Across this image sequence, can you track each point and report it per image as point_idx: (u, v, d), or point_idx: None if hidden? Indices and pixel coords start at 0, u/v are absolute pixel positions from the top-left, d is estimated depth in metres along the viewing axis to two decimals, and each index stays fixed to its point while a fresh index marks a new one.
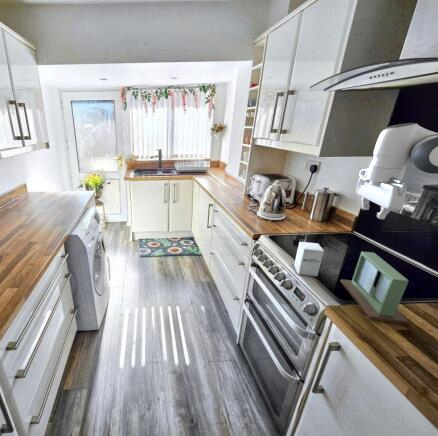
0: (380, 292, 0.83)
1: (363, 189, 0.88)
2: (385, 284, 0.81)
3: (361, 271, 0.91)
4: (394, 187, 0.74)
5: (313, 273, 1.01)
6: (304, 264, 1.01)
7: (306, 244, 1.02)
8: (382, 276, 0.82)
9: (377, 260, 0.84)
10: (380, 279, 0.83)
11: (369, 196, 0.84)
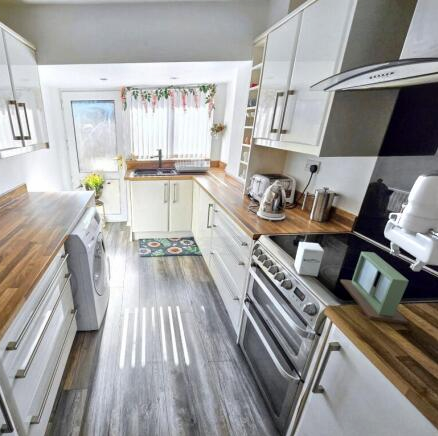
0: (380, 292, 0.83)
1: (393, 233, 0.81)
2: (385, 284, 0.81)
3: (361, 271, 0.91)
4: (434, 241, 0.67)
5: (313, 273, 1.01)
6: (304, 264, 1.01)
7: (306, 244, 1.02)
8: (382, 276, 0.82)
9: (377, 260, 0.84)
10: (380, 279, 0.83)
11: (401, 243, 0.78)
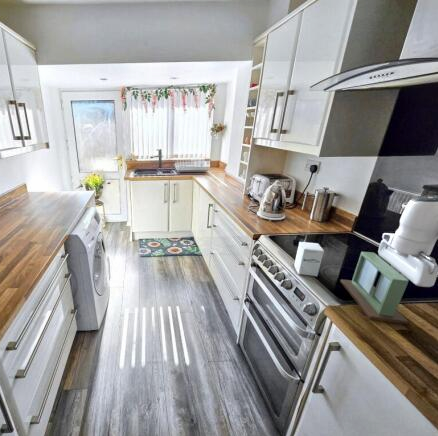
0: (380, 292, 0.83)
1: (386, 253, 0.84)
2: (385, 284, 0.81)
3: (361, 271, 0.91)
4: (424, 264, 0.69)
5: (313, 273, 1.01)
6: (305, 264, 1.01)
7: (306, 244, 1.02)
8: (382, 276, 0.82)
9: (377, 260, 0.84)
10: (380, 279, 0.83)
11: (394, 263, 0.80)
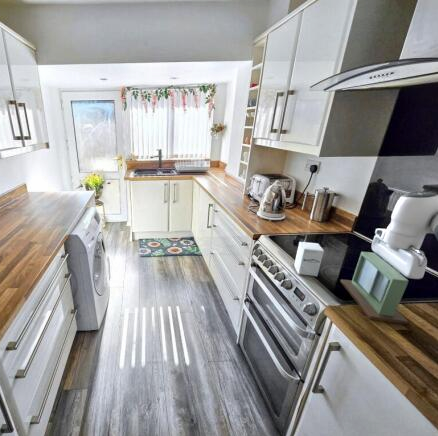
0: (373, 285, 0.86)
1: (379, 247, 0.88)
2: (378, 277, 0.84)
3: (361, 271, 0.91)
4: (414, 257, 0.73)
5: (313, 273, 1.01)
6: (304, 264, 1.01)
7: (306, 244, 1.02)
8: None
9: (377, 260, 0.84)
10: None
11: (386, 257, 0.84)
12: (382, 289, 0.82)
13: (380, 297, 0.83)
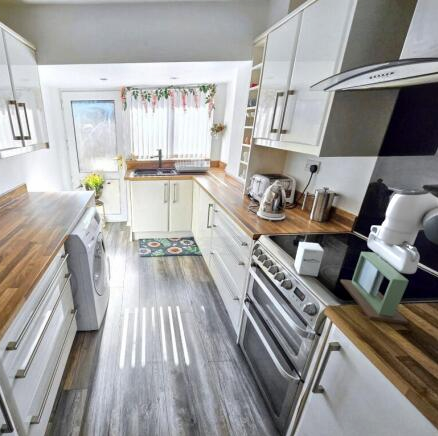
0: None
1: (374, 244, 0.90)
2: None
3: (361, 271, 0.91)
4: (407, 253, 0.76)
5: (313, 273, 1.01)
6: (305, 264, 1.01)
7: (306, 244, 1.02)
8: None
9: (377, 260, 0.84)
10: None
11: (381, 253, 0.86)
12: (377, 284, 0.84)
13: (375, 292, 0.85)
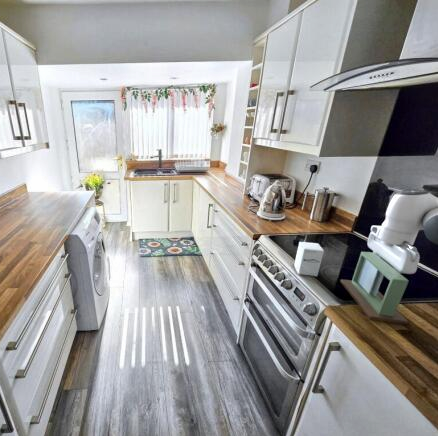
0: None
1: (374, 244, 0.90)
2: None
3: (361, 271, 0.91)
4: (407, 253, 0.76)
5: (313, 273, 1.01)
6: (304, 264, 1.01)
7: (306, 244, 1.02)
8: None
9: (377, 260, 0.84)
10: None
11: (381, 253, 0.86)
12: (377, 284, 0.84)
13: (375, 292, 0.85)
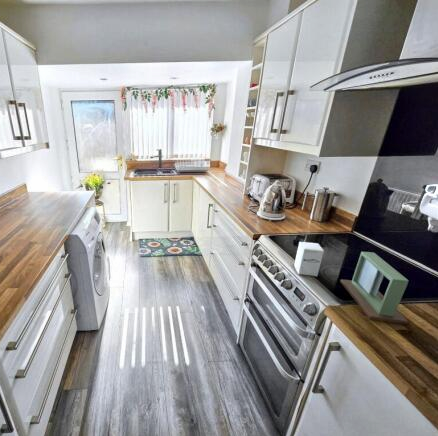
0: None
1: (431, 207, 0.75)
2: None
3: (361, 271, 0.91)
4: None
5: (313, 273, 1.01)
6: (304, 264, 1.01)
7: (306, 244, 1.02)
8: None
9: (377, 260, 0.84)
10: None
11: None
12: (377, 284, 0.84)
13: (375, 292, 0.85)
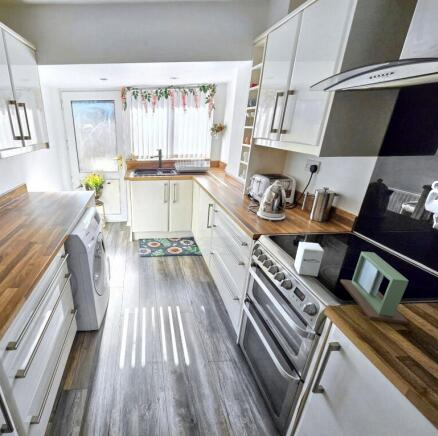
0: None
1: (437, 204, 0.73)
2: None
3: (361, 271, 0.91)
4: None
5: (313, 273, 1.01)
6: (304, 264, 1.01)
7: (306, 244, 1.02)
8: None
9: (377, 260, 0.84)
10: None
11: None
12: (377, 284, 0.84)
13: (375, 292, 0.85)
